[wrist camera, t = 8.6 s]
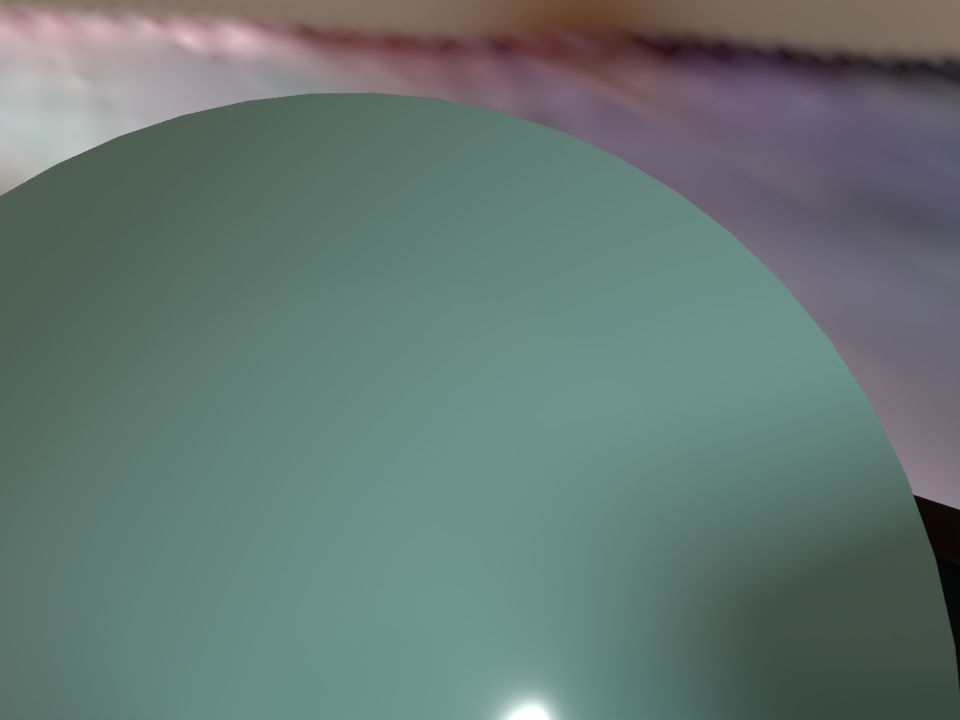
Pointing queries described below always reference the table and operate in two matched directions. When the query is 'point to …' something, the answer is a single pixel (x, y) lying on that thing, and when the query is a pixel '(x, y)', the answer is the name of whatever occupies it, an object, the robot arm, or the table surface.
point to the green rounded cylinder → (431, 441)
